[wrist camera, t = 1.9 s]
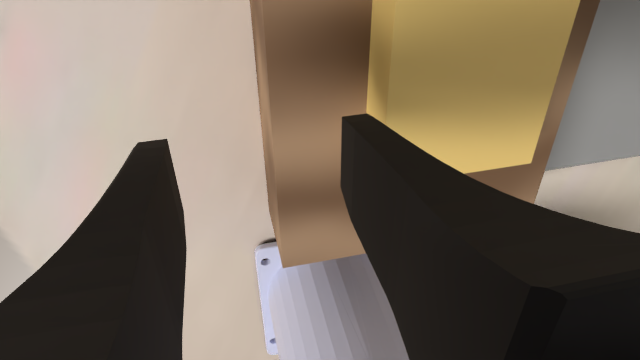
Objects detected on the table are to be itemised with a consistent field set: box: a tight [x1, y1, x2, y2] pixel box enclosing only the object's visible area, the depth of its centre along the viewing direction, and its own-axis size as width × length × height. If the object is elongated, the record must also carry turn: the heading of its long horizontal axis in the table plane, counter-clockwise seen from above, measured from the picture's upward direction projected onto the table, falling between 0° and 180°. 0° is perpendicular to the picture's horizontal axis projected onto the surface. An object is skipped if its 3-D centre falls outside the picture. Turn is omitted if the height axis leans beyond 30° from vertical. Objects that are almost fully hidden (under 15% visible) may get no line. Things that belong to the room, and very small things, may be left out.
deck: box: [250, 0, 600, 268], centre depth 19 cm, size 20×12×4 cm, turn 0°
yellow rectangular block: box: [366, 0, 580, 174], centre depth 17 cm, size 9×6×2 cm, turn 0°
